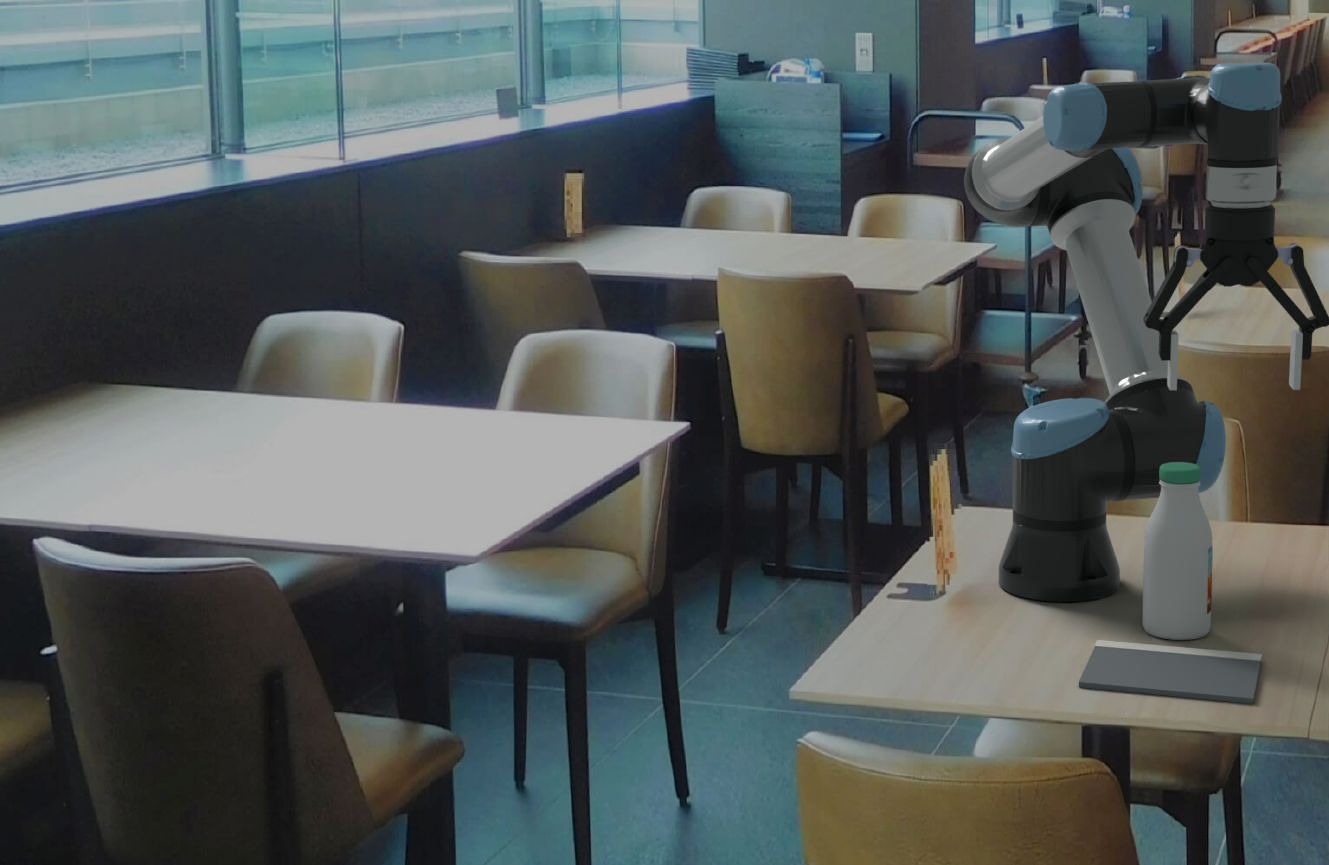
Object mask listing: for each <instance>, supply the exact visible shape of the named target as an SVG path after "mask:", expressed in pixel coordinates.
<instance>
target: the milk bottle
mask: <svg viewBox="0 0 1329 865" xmlns="http://www.w3.org/2000/svg"><path fill="white" fill-rule="evenodd" d="M1159 478H1160V482H1159V484H1160V485H1161V493H1160V496H1159V498H1157V502H1156V505H1155V507H1154V509H1153V511H1152V513H1151V515H1150V517H1149V519H1148V521H1147V524H1146V528H1145V529H1146V530H1145V532H1144V533H1145V535H1144V545H1143V574H1142V575H1143V576H1142V577H1143V578H1142V627H1143V629H1144V631H1145V633H1147V634H1148V635H1151V636H1153V637H1157V638H1159V639H1165V640H1173V641H1189V640H1197V639H1200V638H1203V637H1205V636H1207V635H1208V634H1209V632H1210V630H1211V626H1212V625H1211V623H1212V598H1213V596H1212V595H1213V594H1212V590H1213V556H1214V555H1213V532H1212V527H1211V524H1210V522H1209V521H1210V520H1209V519H1208V516H1207V514H1206V512H1205V509H1204V507H1203V505H1202V502H1201V498H1200V493H1198V487H1199V486H1200V484H1201V483H1200V479H1201V469H1200V467H1199V466H1198V465H1196V464H1192V463H1186V462H1171V463H1165V464H1163V465H1161V466H1160V469H1159Z"/></svg>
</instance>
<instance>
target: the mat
mask: <svg viewBox="0 0 1329 865" xmlns="http://www.w3.org/2000/svg"><path fill="white" fill-rule="evenodd" d="M1094 644H1095V645H1094V648H1093V650H1092V652H1091V654H1090V656H1089V658H1088V661H1087V663H1086V665H1085V667H1084V670H1083V672H1082V674H1081V676H1080V678H1079V680H1078V688H1085V689H1086V688H1087V689H1095V690H1103V691H1106V690H1107V691H1116V692H1127V693H1136V694H1147V695H1156V696H1157V695H1158V696H1168V697H1176V698H1177V697H1178V698H1188V699H1199V700H1208V701H1221V702H1229V703H1231V702H1232V703H1238V704H1239V703H1240V704H1241V703H1242V704H1249V705H1250V704H1251V705H1253V704H1254V701H1255V695H1256V691H1257V685H1258V682H1259V681H1258V679H1259V675H1260V670H1261V666H1262V660H1263V658H1262V657H1263V655H1262V653H1253V652H1252V653H1250V652H1242V651H1241V652H1240V651H1239V652H1238V651H1230V650H1218V649H1206V648H1197V647H1196V648H1195V647H1193V648H1192V647H1183V646H1172V645H1171V646H1170V645H1162V644H1161V645H1160V644H1159V645H1158V644H1148V643H1137V642H1124V641H1123V642H1122V641H1115V640H1114V641H1111V640H1102V639H1101V640H1100V639H1097V640H1096V642H1095V643H1094Z"/></svg>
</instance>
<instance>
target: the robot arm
mask: <svg viewBox="0 0 1329 865" xmlns="http://www.w3.org/2000/svg"><path fill="white" fill-rule="evenodd" d="M1282 98H1283V97H1282V93H1281V71H1280V68H1279V67H1278V66H1277V64H1275V63H1272V62H1250V61H1245V62H1226V63H1218V64H1215V66H1213V67H1212V69H1211V71H1210V76H1209V77H1206V76H1203V75H1193V76H1192V75H1191V76H1190V75H1185V76H1181V77H1177V78H1170V79H1154V80H1152V79H1151V80H1136V81H1113V82H1085V81H1084V82H1083V81H1082V82H1081V81H1080V82H1077V83H1074V84H1073V83H1072V84H1065V85H1059V86H1058V85H1057V86H1056V87H1054V88H1053V89H1052V90H1051V91H1050V92H1049V94H1048V95H1047V100H1046V101H1045V103H1044V107H1043V114H1042V116H1040V117H1039V118H1038V119H1036V120H1034V121H1033V122H1032V123H1030V124H1028V125H1027V126H1026V127H1024V128H1023V129H1021V130H1020V131H1018V132H1016V134H1014V135H1013V136H1011V137H1009V138H999V139H995V140H992V141H991V142H988V143H987V144H985V145H984V146H982V147H981V148H980V149H979V150H977V152H975V154H973V156H972V157H971V158H970V160H969V162H968V163H967V165H966V168H965V172H964V178H963V185H964V191H965V194H966V197H967V200H968V201H969V203H970V205H971V206H972V207H973V208H974V209H975V210H976V212H978V213H979V214H981V215H982V216H983V217H984V218H985V219H987V220H989V221H991V222H994V223H996V224H998V225H1002V226H1007V227H1012V228H1013V227H1015V228H1023V227H1027V228H1030V227H1045V226H1046V227H1047V229H1048V230H1047V231H1048V233H1049V236H1050V239H1051V241H1052V243H1053V244H1054V245H1055V247H1058V249H1061V250H1063V251H1066V253H1067V256H1068V260H1069V263H1070V267H1071V270H1072V273H1073V274H1072V275H1073V277H1074V279H1075V283H1076V286H1077V290H1078V293H1079V296H1080V299H1081V303H1082V307H1083V309H1084V312H1085V316H1086V319H1087V322H1088V326H1089V330H1090V332H1091V333H1090V334H1091V336H1092V339H1093V342H1094V346H1095V349H1096V352H1097V357H1098V359H1099V363H1100V366H1101V369H1102V372H1103V376H1104V380H1105V382H1106V386H1107V390H1108V392H1109V395H1108V397H1107V398H1106V400H1105V401H1103V400H1100V399H1097V398H1093V397H1080V398H1079V397H1078V398H1072V397H1070V398H1069V397H1068V398H1060V399H1059V398H1058V399H1054V400H1049V401H1048V400H1047V401H1045V402H1041V403H1038V404H1036V405H1035V404H1034V405H1033V406H1031V407H1030V406H1029V407H1028V408H1026V409H1025V410H1023V411H1022V412H1020V413H1019V414H1018V416H1017V417H1016V418H1015V421H1014V424H1013V435H1012V444H1011V448H1010V449H1011V450H1010V452H1011V455H1012V525H1011V529H1010V532H1009V535H1008V538H1007V540H1006V544H1005V547H1004V549H1003V553H1002V555H1001V558H1000V561H999V564H998V585H999V586H1000V587H1001V589H1002V590H1004V591H1006V592H1007V593H1009V594H1012V595H1014V596H1018V597H1021V598H1026V599H1029V600H1036V601H1042V602H1043V601H1044V602H1045V601H1046V602H1059V603H1060V602H1061V603H1062V602H1063V603H1064V602H1065V603H1067V602H1068V603H1069V602H1084V601H1093V600H1098V599H1100V598H1101V599H1102V598H1104V597H1108V596H1110V595H1111V594H1114V593H1116V592H1117V591H1118V590H1119V588H1120V585H1121V584H1120V583H1121V582H1120V581H1121V570H1120V565H1119V561H1118V559H1117V556H1116V552H1115V550H1114V546H1113V544H1112V540H1111V537H1110V534H1109V531H1108V527H1107V509H1108V506H1107V505H1108V503H1109V502H1111V503H1112V502H1119V501H1120V502H1122V501H1131V500H1132V501H1133V500H1146V499H1159V496H1160V493H1161V485H1160V484H1159V482H1160V478H1159V469H1160V466H1161V465H1163V464H1165V463H1171V462H1186V463H1192V464H1196V465H1198V466H1199V467H1200V469H1201V479H1200V483H1201V484H1200V486H1199V487H1198V493H1199V494H1200V493H1204V492H1207V491H1208V490H1210V489H1211V488H1212V487H1213V486H1214V484H1215V483H1217V480H1218V478H1219V476H1220V475H1221V472H1222V469H1223V465H1224V463H1225V462H1224V461H1225V457H1226V449H1227V448H1226V445H1227V437H1226V436H1227V434H1226V427H1225V422H1224V418H1223V417H1224V416H1223V415H1222V413H1221V411H1220V409H1219V408H1218V406H1217V405H1216V404H1214V403H1213V402H1211V401H1207V400H1200V401H1198V400H1197V398H1196V394H1195V392H1194V389H1193V386H1192V384H1191V382H1190V381H1189V380H1188V379H1186V378H1184V377H1181V376H1179V375H1178V364H1179V363H1178V361H1179V360H1178V359H1179V336H1180V335H1179V333H1178V332H1177V330H1175V328H1176V327H1177V326H1178V325H1179V324H1180V323H1181V322H1182V320H1184V318H1185V317H1186V316H1187V315H1188V314H1189V313H1190V312H1191V311H1192V309H1194V308H1195V306H1196V305H1197V304H1198V303H1199V302H1200V301H1201V300H1202V298H1204V296H1205V295H1206V294H1207V293H1208V292H1209V291H1211V290H1212V289H1213V288H1214V287H1215V286H1216V285H1217V284H1219V285H1220V286H1223V287H1234V286H1237V285H1239V286H1243V287H1253V286H1255V285H1256V284H1258V283H1259V282H1261V284H1262V285H1263V286H1264V287H1265V288H1266V289H1267V291H1268V292H1269V293H1270V294H1271V295H1272V296H1273V298H1274V299H1275V300H1276V301H1277V302H1278V303H1279V305H1280V306H1281V307H1282V308H1283V310H1284V311H1286V313H1287V315H1289V316H1290V318H1292V320H1293V321H1294V322H1295V323H1296V325H1297V326H1298V328H1292V329H1291V332H1290V353H1289V354H1290V355H1289V371H1288V372H1289V374H1288V376H1289V378H1288V385H1289V387H1290V388H1291V390H1293V391H1300V390H1301V380H1302V379H1301V378H1302V360H1307V361H1309V360H1310V359H1311V357H1312V346H1313V335H1314V334H1313V333H1314V332H1315V331H1316V330H1318V329H1320V328H1326V327H1329V315H1328V312H1327V310H1326V307H1325V305H1324V304H1323V302H1322V300H1321V298H1320V295H1319V294H1318V291H1317V289H1316V287H1315V285H1314V282H1313V281H1312V279H1311V276H1310V275H1309V273H1308V270H1307V268H1306V266H1305V256H1304V255H1305V254H1304V249H1303V247H1301V246H1300V245H1299V244H1297V243H1290V244H1289V245H1287V246H1281V247H1276V244H1275V221H1276V207H1274V204H1271V202H1272V201H1274V200H1275V199H1276V198H1277V196H1276V195H1277V168H1278V166H1277V165H1278V164H1277V163H1278V155H1279V154H1278V152H1279V137H1280V135H1279V134H1280V121H1281V120H1280V119H1281V106H1282V105H1281V104H1282ZM1190 144H1191V145H1192V144H1193V145H1194V144H1199V145H1200V144H1201V145H1207V149H1206V150H1207V151H1206V152H1207V154H1206V156H1207V158H1206V178H1205V179H1206V180H1205V199H1206V200H1207V201H1208V202H1210V204H1208V205H1206V207H1205V209H1204V235H1203V236H1204V237H1203V244H1202V246H1201V248H1191V247H1186V246H1184V245H1183V244H1182V245H1181V244H1180V245H1179V244H1178V245H1177V246H1176V247H1175V248H1174V253H1173V260H1172V264H1171V267H1170V268H1169V271H1168V272H1167V274H1166V276H1165V277H1164V279H1163V281H1162V282H1161V285H1160V287H1159V289H1158V291H1157V293H1155V296H1154V298H1153V299H1152V298H1151V295H1150V292H1149V289H1148V286H1147V283H1146V280H1145V276H1144V274H1143V271H1142V267H1141V265H1140V261H1139V259H1138V256H1137V251H1136V249H1135V246H1134V243H1133V239H1132V237H1131V234H1130V229H1131V228H1132V226H1133V225H1134V223H1135V221H1136V215H1137V214H1138V213H1139V210H1140V209H1141V205H1142V201H1143V197H1144V196H1143V193H1144V191H1143V188H1144V187H1142V184H1141V182H1142V180H1143V179H1142V172H1141V169H1140V166H1139V163H1138V160H1137V159H1136V156H1135V154H1134V153H1133V151H1132V150H1131V149H1130V148H1134V147H1136V148H1138V147H1140V148H1141V147H1153V146H1154V147H1157V146H1173V145H1174V146H1177V145H1190ZM1279 258H1280V259H1281V260H1282V262H1283V263H1284V265H1286V266H1289V267H1290V269H1291V272H1292V274H1293V277H1294V278H1295V280H1296V282H1297V284H1298V286H1299V288H1300V289H1299V290H1300V291H1301V293H1302V295H1303V297H1304V299H1305V301H1306V303H1307V305H1308V307H1309V309H1310V312H1311V314H1312V316H1310V317H1307V316H1306V315H1305V313H1303V311H1302V310H1301V309H1300V307H1298V305H1297V304H1296V303H1295V302H1294V301H1293V300H1292V299H1291V297H1290V296H1289V295H1288V294H1287V292H1286V291H1285V290H1284V289H1283V288H1282V287H1281V285H1279V283H1278V282H1277V281H1276V280H1275V278H1274V277H1273V276H1272V275H1271V273H1269V270H1270V269H1271V268H1272V266H1273V265H1274V263H1276V261H1277V259H1279ZM1196 260H1200V261H1201V263H1202V264H1203V266H1204V267H1205V270H1204V271H1203V273H1202V274H1201V275H1200V276H1199V277H1198V279H1197V281H1195V283H1194V284H1193V285H1192V286H1191V287H1190V288H1189V289H1188V290H1187V292H1186V293H1185V294H1184V295H1183V296H1182V297H1181V299H1179V301H1177V303H1176V304H1175V305H1174V306H1173V307H1172V308H1171V309H1170V310H1169V312H1167V314H1166V315H1165V316H1164V317H1163V318H1161V316H1162V315H1163V313H1164V311H1165V309H1166V308H1167V306H1168V304H1169V302H1170V300H1171V298H1172V297H1173V295H1174V294H1175V293H1174V292H1175V291H1176V289H1177V287H1178V285H1179V283H1180V282H1181V280H1182V278H1183V277H1184V275H1185V272H1186V269H1187V268H1189V267H1192V266H1193V265H1194V263H1195V261H1196Z"/></svg>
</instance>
